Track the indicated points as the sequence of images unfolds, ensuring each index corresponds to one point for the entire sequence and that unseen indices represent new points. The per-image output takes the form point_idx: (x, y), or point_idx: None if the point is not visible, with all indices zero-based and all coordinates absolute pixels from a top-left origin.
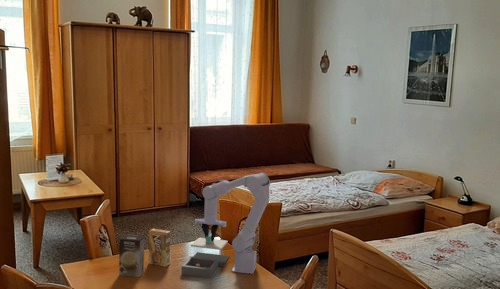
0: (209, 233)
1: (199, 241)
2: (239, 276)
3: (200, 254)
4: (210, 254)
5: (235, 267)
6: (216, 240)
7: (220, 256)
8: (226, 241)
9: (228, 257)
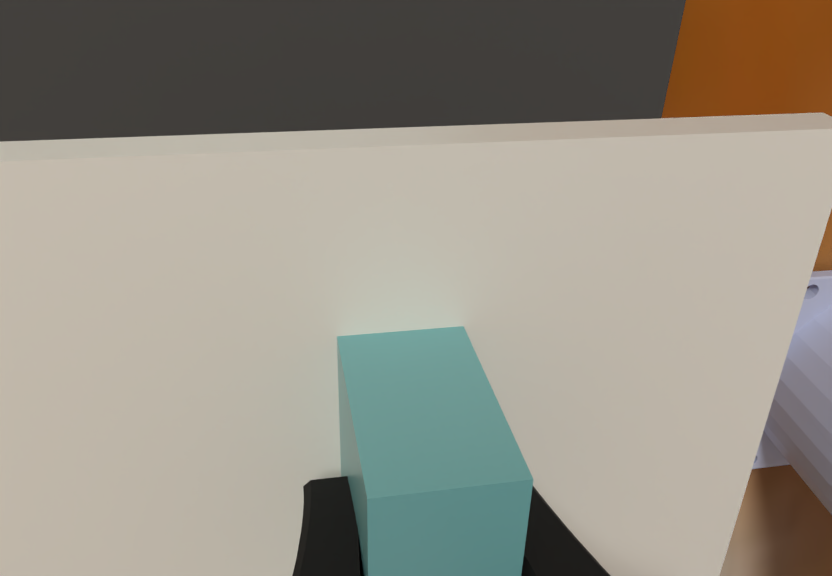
0: (368, 529)
1: (105, 510)
2: (793, 514)
3: (87, 89)
4: (293, 19)
5: (783, 454)
6: (534, 246)
7: (517, 62)
8: (817, 214)
9: (669, 60)
